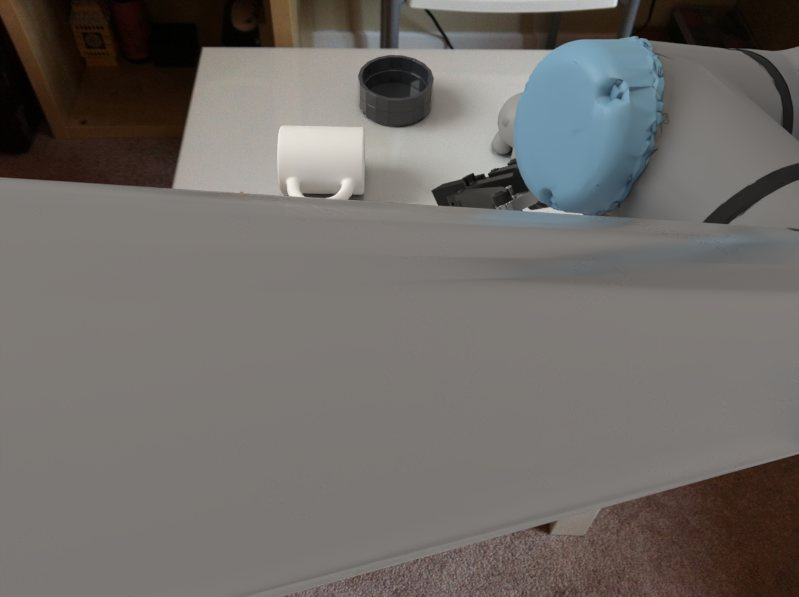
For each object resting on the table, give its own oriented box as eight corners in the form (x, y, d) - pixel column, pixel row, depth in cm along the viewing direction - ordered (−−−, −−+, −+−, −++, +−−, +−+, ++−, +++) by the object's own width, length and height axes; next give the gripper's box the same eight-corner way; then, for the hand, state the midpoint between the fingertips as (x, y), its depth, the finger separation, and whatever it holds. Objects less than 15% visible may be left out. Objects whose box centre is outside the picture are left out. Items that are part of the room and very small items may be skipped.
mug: (286, 162, 94) (281, 111, 88) (365, 163, 94) (365, 113, 88) (278, 231, 87) (271, 180, 80) (363, 232, 87) (362, 182, 81)
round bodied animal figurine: (584, 142, 99) (600, 89, 92) (518, 178, 94) (530, 124, 87) (546, 114, 102) (559, 60, 95) (481, 147, 97) (489, 93, 91)
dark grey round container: (399, 138, 98) (400, 110, 94) (343, 105, 102) (342, 77, 98) (445, 103, 103) (448, 76, 99) (390, 73, 107) (391, 46, 103)
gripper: (593, 256, 46) (406, 269, 66) (716, 169, 51) (508, 206, 72) (548, 144, 44) (370, 193, 65) (680, 67, 50) (477, 135, 70)
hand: (443, 200), depth 68 cm, fingers closed
